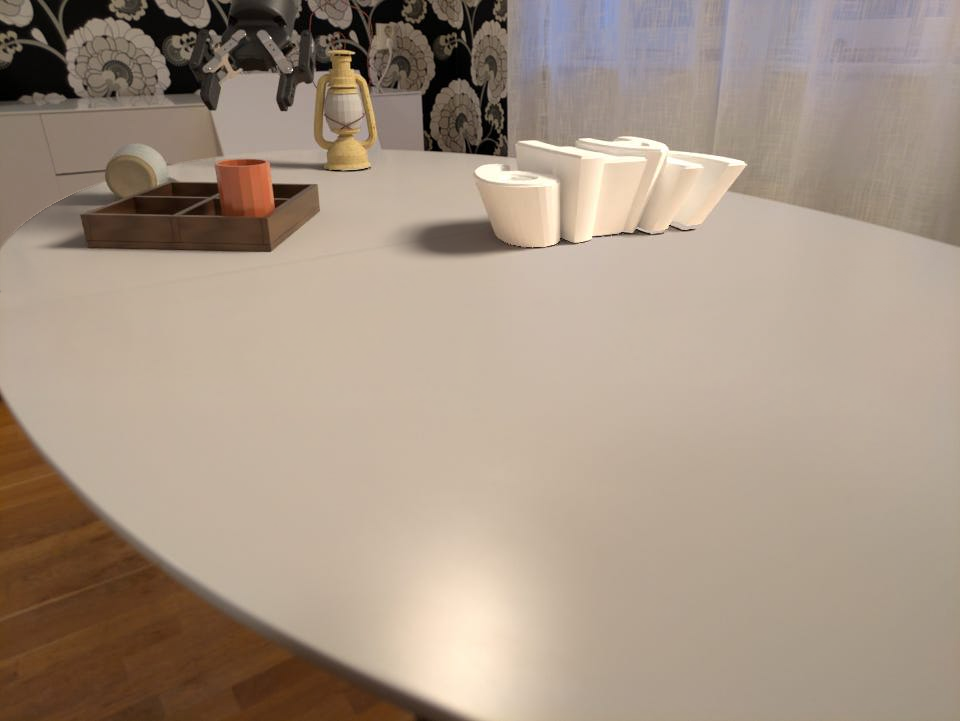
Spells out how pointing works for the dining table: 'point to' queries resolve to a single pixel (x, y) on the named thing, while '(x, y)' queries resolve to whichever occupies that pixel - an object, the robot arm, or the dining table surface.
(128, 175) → the ceramic mug
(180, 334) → the dining table surface
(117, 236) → the tray
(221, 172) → the cup
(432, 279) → the dining table surface
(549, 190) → the white wavy slab sculpture
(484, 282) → the dining table surface
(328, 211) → the dining table surface
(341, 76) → the lantern
